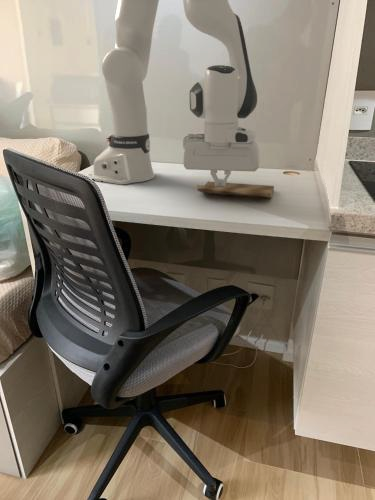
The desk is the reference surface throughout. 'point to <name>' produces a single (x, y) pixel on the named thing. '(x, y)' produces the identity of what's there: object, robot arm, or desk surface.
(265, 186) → the laid board
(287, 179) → the desk surface
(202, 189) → the plank
